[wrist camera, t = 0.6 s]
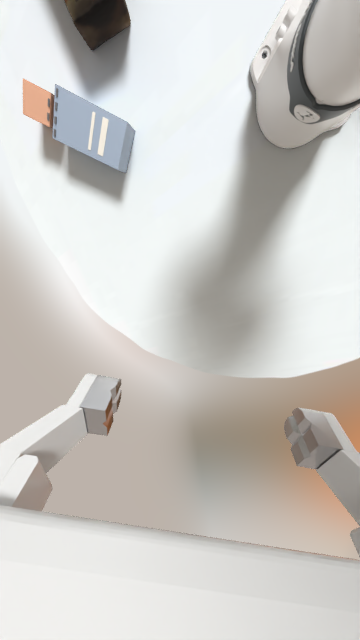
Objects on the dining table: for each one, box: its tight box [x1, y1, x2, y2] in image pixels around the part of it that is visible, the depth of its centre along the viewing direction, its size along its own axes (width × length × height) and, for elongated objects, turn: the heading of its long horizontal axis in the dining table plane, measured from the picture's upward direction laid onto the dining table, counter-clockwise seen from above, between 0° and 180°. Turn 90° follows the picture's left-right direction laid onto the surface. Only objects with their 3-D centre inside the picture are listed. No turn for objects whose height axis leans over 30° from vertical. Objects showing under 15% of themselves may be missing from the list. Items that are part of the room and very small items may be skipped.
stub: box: [23, 79, 55, 129], centre depth 35 cm, size 4×4×5 cm
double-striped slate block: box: [53, 84, 135, 173], centre depth 36 cm, size 7×12×5 cm, turn 67°
